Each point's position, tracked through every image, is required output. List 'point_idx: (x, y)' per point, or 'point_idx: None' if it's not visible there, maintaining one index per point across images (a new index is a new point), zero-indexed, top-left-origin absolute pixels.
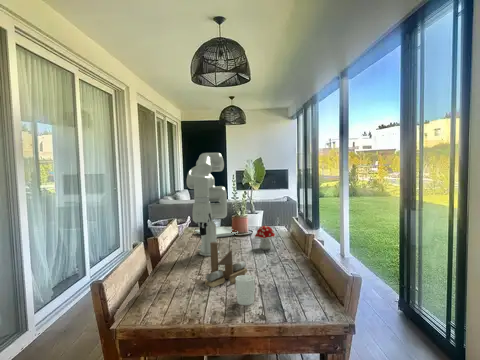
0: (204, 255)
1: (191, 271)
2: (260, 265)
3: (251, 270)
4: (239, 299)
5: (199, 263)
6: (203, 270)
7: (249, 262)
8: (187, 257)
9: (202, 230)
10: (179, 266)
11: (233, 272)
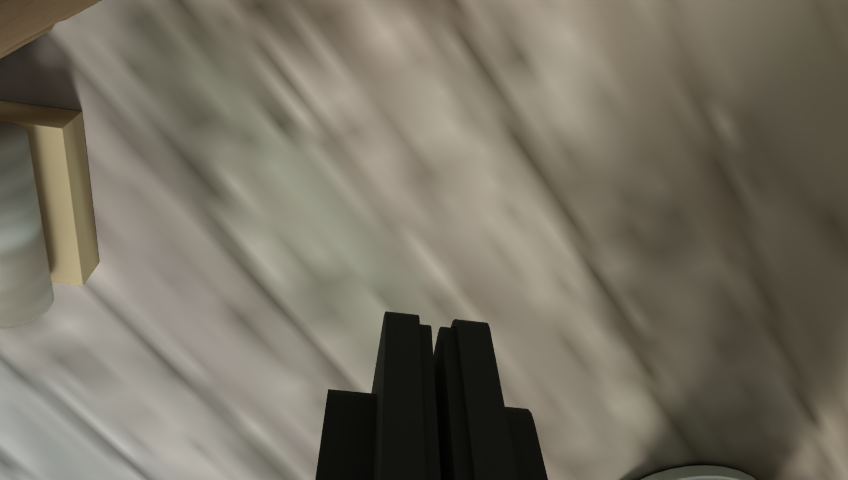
0: (691, 466)
1: (576, 21)
2: (52, 442)
3: None
4: None
5: (630, 286)
6: (458, 114)
7: (197, 466)
8: (841, 380)
9: (376, 463)
10: (812, 119)
11: (4, 116)
